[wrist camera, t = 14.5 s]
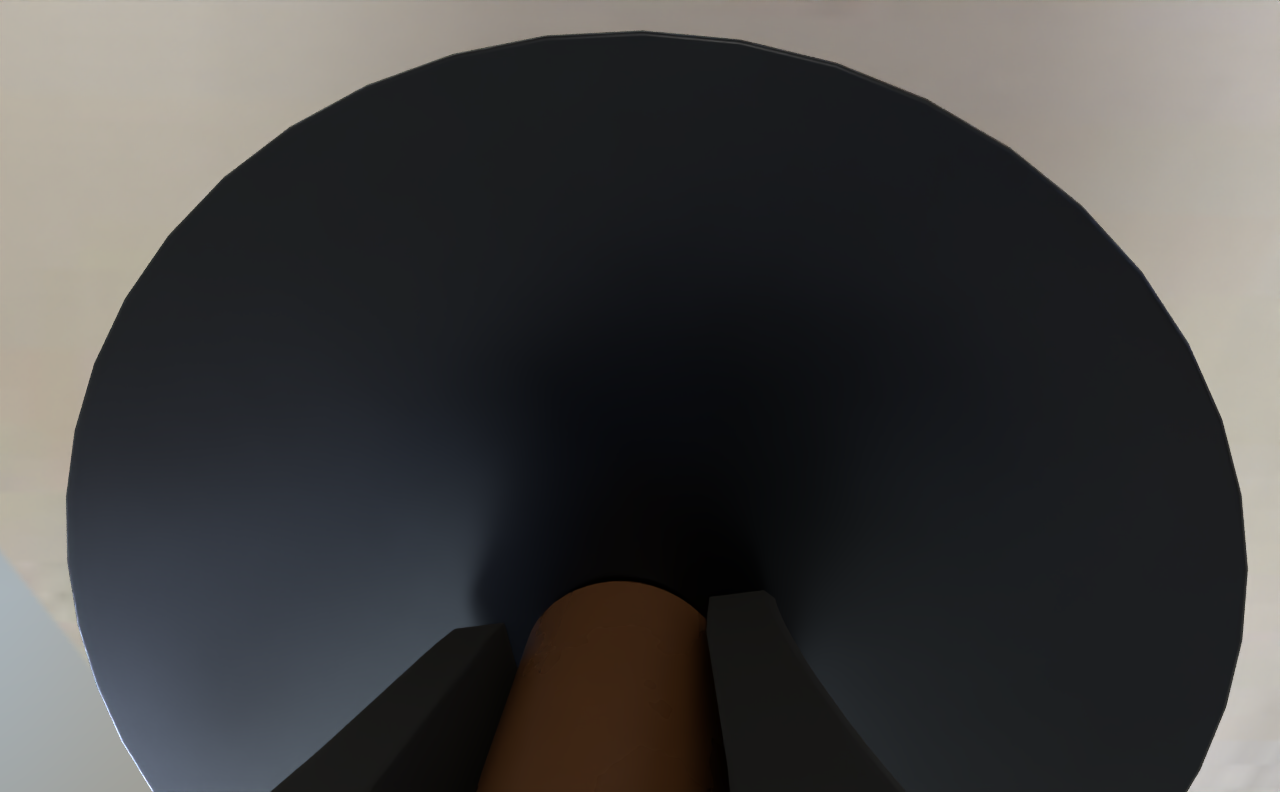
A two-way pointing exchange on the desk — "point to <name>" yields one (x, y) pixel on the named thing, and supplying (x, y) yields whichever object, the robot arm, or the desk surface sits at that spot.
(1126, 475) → the pan lid
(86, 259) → the desk surface
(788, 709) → the robot arm
